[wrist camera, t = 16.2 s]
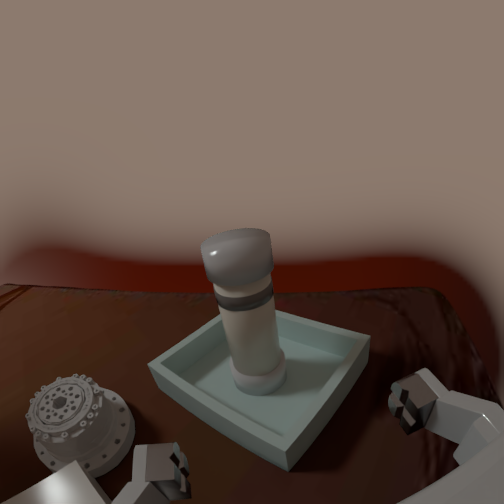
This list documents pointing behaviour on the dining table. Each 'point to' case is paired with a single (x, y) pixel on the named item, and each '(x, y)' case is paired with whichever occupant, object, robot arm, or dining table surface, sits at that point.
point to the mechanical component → (80, 425)
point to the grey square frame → (64, 489)
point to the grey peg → (247, 307)
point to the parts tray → (274, 404)
